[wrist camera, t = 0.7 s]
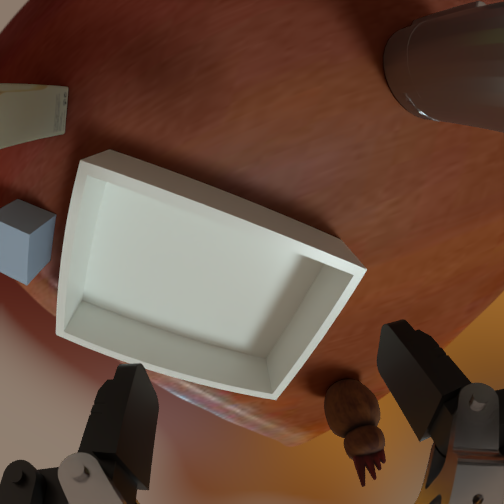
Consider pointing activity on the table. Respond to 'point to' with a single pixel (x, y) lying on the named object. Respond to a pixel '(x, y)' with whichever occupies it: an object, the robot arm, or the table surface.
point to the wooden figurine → (356, 424)
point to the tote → (195, 278)
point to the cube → (25, 240)
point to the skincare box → (31, 112)
